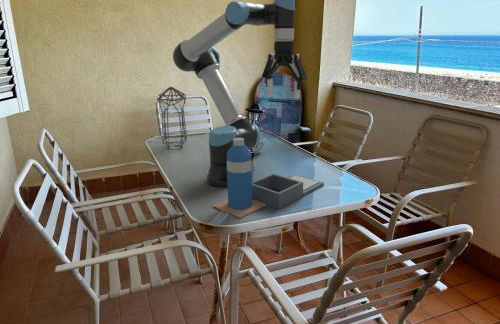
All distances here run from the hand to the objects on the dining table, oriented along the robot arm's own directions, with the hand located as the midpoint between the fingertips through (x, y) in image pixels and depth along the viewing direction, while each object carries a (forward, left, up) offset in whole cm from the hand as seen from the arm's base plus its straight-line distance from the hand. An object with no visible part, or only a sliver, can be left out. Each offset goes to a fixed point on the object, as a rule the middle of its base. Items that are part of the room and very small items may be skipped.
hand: (283, 96), depth 144 cm
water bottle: (+3, -29, -36) cm, 46 cm away
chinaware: (-40, +25, -37) cm, 60 cm away
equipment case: (+8, -6, -37) cm, 38 cm away
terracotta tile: (+3, -29, -37) cm, 47 cm away
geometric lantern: (-80, +3, -37) cm, 88 cm away
